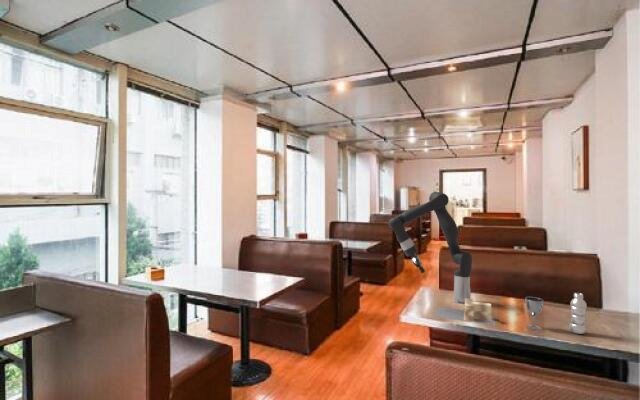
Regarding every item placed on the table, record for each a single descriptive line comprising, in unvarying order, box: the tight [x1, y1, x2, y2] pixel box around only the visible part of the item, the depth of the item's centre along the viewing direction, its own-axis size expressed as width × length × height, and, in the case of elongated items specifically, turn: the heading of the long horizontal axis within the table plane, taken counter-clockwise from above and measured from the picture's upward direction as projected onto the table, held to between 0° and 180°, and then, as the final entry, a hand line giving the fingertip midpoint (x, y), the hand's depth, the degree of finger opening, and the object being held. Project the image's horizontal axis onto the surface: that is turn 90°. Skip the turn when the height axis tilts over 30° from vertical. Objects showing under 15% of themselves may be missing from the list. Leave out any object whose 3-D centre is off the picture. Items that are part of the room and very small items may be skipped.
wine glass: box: [524, 296, 544, 331], centre depth 174 cm, size 8×8×15 cm
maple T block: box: [464, 298, 492, 321], centre depth 184 cm, size 13×14×8 cm
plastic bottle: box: [568, 292, 587, 335], centre depth 167 cm, size 6×7×20 cm
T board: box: [434, 306, 497, 326], centre depth 187 cm, size 30×18×1 cm, turn 67°
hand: (423, 272), depth 200 cm, fingers closed
